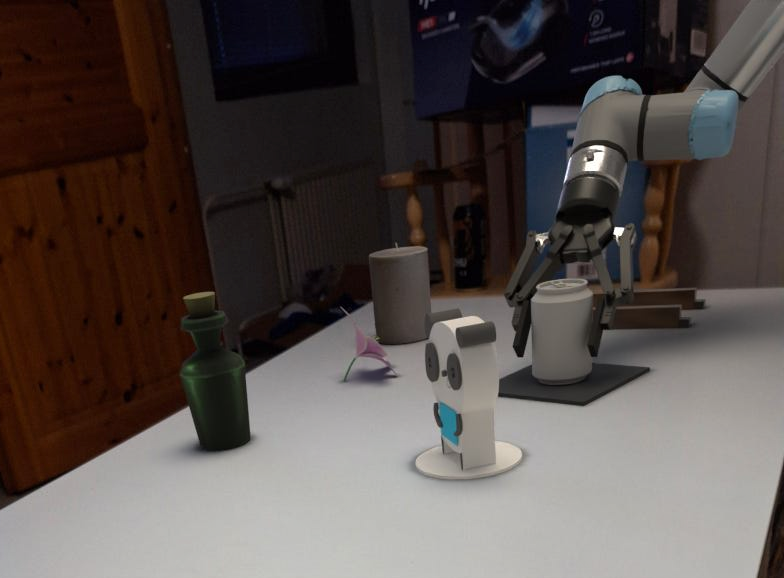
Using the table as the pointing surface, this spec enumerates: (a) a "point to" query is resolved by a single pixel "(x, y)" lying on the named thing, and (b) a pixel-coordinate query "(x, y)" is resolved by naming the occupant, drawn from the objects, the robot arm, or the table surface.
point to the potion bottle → (214, 378)
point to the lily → (367, 347)
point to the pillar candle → (400, 293)
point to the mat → (576, 393)
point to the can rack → (655, 308)
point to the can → (561, 331)
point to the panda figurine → (464, 399)
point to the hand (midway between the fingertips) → (554, 351)
